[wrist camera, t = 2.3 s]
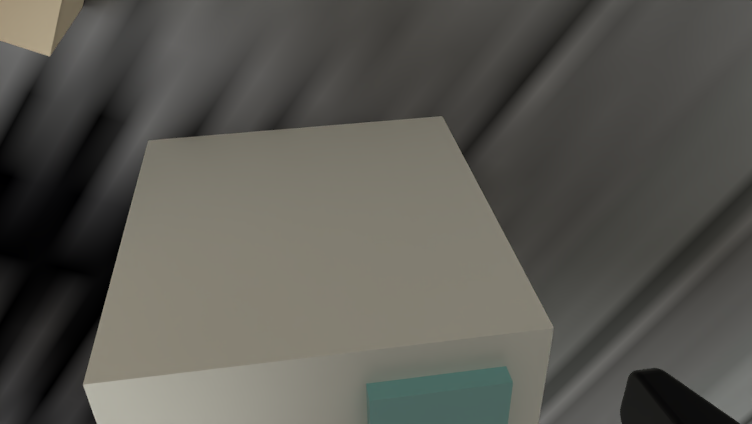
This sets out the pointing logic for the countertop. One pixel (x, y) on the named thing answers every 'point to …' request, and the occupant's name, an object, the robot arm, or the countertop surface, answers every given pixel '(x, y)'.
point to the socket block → (37, 22)
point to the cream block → (316, 286)
